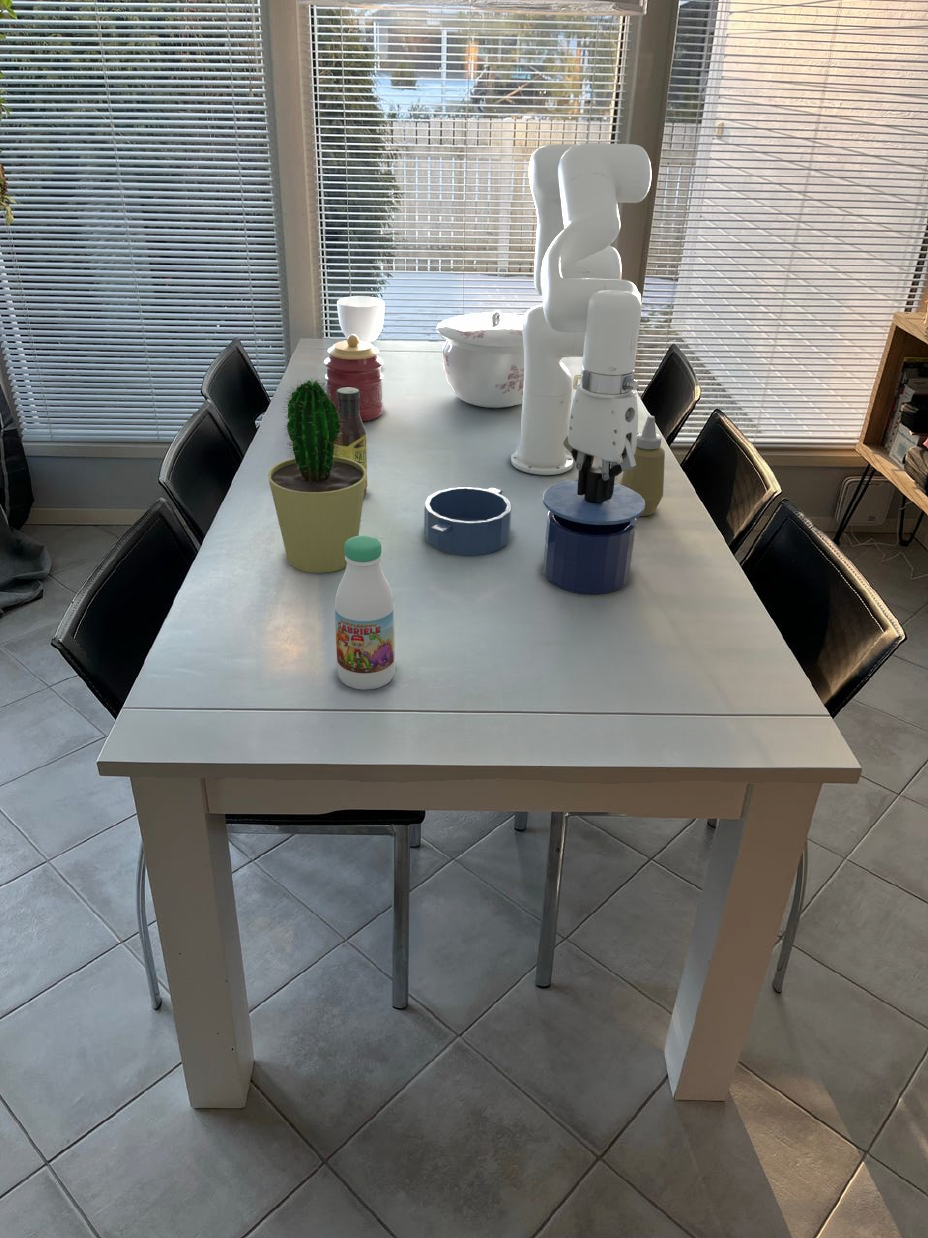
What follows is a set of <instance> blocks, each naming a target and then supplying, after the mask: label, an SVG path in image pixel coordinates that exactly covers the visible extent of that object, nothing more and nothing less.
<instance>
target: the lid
mask: <svg viewBox="0 0 928 1238" xmlns="http://www.w3.org/2000/svg"><path fill="white" fill-rule="evenodd" d="M600 478H602V465H601V466H600V465H592V466H590V467H588V468H587V476H586V486H585V494H584V495H582V496H580V495H578V494H577V490H578V479H574V480H573V479H572V480H567V481H563V482H559V483H556V484H553V485H551V486H549V487H548V488H547V489H546V490H545V491H544V492H543V495H542V503H543V505H544V507H545V508H546V509H547V510H548V512H549V511H550V512H552V513H553V514H555V515H557V516H559V517H562V518H564V519H567V520H570V521H574V522H579V523H584V524H594V525H612V524H620V523H625V522H628V521H631V520H634V519H636V520H637V518H639V517H641V516H640V515H641V514H642V513H643V512H644V509H645V501H644V499H643V498H642V497H641V496H640V495H639V494H638V493H637V492H635V491H633V490H631V489H629V488H627V487H625V486H622V485H620V483H615V482H614V490H613V495H612V498H611V499H610V500H607V501H605V502H603V503H597V501H596V496H597V487H598V480H599V479H600Z"/></svg>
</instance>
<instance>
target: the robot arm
mask: <svg viewBox="0 0 928 1238" xmlns="http://www.w3.org/2000/svg"><path fill="white" fill-rule="evenodd" d="M528 165H529V166H528V179H529V186H530V190H531V194H532V198H533V202H534V206H535V210H536V218H537V226H536V240H535V254H534V266H533V267H534V268H533V279H534V280H533V283H534V288H535V292H536V293H537V294H538V295H540V296H541V297H542V298H541V299H542V304H539V305H536V306H533V307H531V308H530V309H528V310H527V311H526V312H525V313H524V315H523V316H524V318H523V324H522V334H523V345H524V385H523V401H522V403H521V420H520V435H519V449H518V450H516V451H515V452H513V453H512V454H511V458H510V462H511V465H512V466H513V467H514V468H516V469H517V470H519V471H521V472H524V473H527V474H530V475H531V474H533V475H537V476H538V475H539V476H553V475H560V474H564V473H566V472H569V471H570V470H571V469H572V468H573V467H574V462H575V468H576V471H578V475H577V480H578V490H577V494H578V495H580V496H582V495H584V494H585V486H586V476H587V468H588V467H590V466H593V464H594V459H595V457H596V458H597V459H600V460H601V467H602V478H600V479H599V480H598V487H597V496H596V501H597V503H603V502H605V501H607V500H610V499H611V498H612V495H613V490H614V483H615V480H616V477H618V476H619V475H620V474H622V473H623V471H627V470H630V469H633V468H635V467H636V462H635V458H634V454H635V451H636V445H637V433H639V432H638V430H639V429H638V428H639V406H638V397H637V393H636V392H634V391H636V390H638V388H639V385H640V383H639V381H638V380H635V367H636V359H637V350H638V344H639V342H638V341H639V333H640V325H641V319H642V306H643V305H642V296H641V292H640V291H639V290H638V288H637V286H636V285H635V284H634V283H633V282H632V281H630V280H627V279H622V274H623V273H622V269H623V268H622V260H621V256H620V254H619V252H618V250H617V249H616V248H615V247H613V246H612V245H611V244H613V243H614V242H615V240H616V239H617V237H618V236H619V233H620V231H621V219H620V213H619V205H618V203H625V204H626V203H628V204H637V203H640V202H642V201H643V200H644V199H645V198H646V197H647V195H648V193H649V191H650V188H651V183H652V166H651V161H650V157H649V155H648V153H647V151H646V149H645V148H644V147H642V146H641V145H638V144H635V143H633V144H632V143H607V142H606V143H605V142H603V143H601V142H587V143H580V144H578V143H577V144H575V143H574V144H573V143H557V144H555V143H554V144H546V145H542V146H540V147H538V148H536V149H535V150H534V151H533V153H532V154H531V157H530V159H529V164H528ZM564 358H582V365H581V373H580V375H581V379H580V383H578V386H577V389H576V390H575V392H574V395H573V377H572V375H571V372H570V371H569V369H568V368H567V366H566V365H565V363H564V362H563V361H562V359H564ZM572 395H573V400H572ZM567 451H568V452H569V453H570V454H569V453H567ZM621 459H622V462H621V461H620V460H621Z"/></svg>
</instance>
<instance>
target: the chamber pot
mask: <svg viewBox="0 0 928 1238" xmlns="http://www.w3.org/2000/svg"><path fill="white" fill-rule="evenodd" d="M524 316H525V315H519V314H518V315H517V314H509V313H501V311H499V310H495V311H493V312H482V313H481V312H480V313H469V314H461V315H458V316H457V315H456V316H452V317H449V318H446V319H444V320H442V321H441V322H439V323H438V324H437V325H436V329H435V331H436V332H437V333H438V334H439V335H440V336H441V337H442V338H443V339H446V340H445V341H444V343H443V345H442V351H441V353H442V354H441V355H442V356H441V357H442V359H441V363H442V368H443V374H444V378H445V380H446V382H447V383H448V385H449V386H450V389H451V390H452V393H454V395H455V396H456V397H457V398H458V399H459V400H461V401H462V402H465V403H467V404H469V405H473V406H475V407H480V408H487V409H504V408H505V409H506V408H510V407H515V406H519V405H522V401H523V385H524V345H523V334H522V324H523V318H524Z"/></svg>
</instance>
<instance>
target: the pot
mask: <svg viewBox="0 0 928 1238" xmlns="http://www.w3.org/2000/svg"><path fill="white" fill-rule="evenodd" d="M636 526H637V518H636V519H634V520H631V521H628V522H625V523H620V524H612V525H594V524H584V523H579V522H574V521H570V520H567V519H564V518H562V517H559V516H557V515H555V514H553V513H552V512H550V511H549V510H548V513H547V517H546V531H545V542H544V553H543V567H542V568H543V574H544V577H545V578H546V579H547V581H548V582H549V583H550V584H552V585H554V586H555V587H557V588H559V589H561V590H564V591H568V592H571V593H575V594H582V595H604V594H609V593H613V592H617V591H618V590H621V589H622V588H624V587H625V586H626V585H627V583H628V582H629V578H630V573H631V565H632V558H633V549H634V541H635V534H636Z"/></svg>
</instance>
